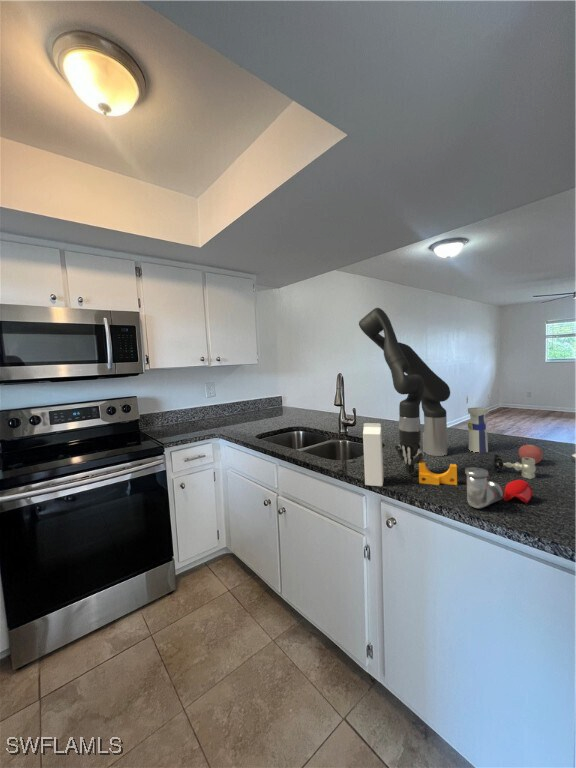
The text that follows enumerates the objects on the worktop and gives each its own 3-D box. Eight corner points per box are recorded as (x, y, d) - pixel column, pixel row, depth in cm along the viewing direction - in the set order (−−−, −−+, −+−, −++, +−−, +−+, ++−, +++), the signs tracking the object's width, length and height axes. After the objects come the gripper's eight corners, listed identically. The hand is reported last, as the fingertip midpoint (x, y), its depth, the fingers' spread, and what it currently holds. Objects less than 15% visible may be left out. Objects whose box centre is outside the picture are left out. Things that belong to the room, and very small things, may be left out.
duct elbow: (481, 514, 88) (480, 476, 87) (461, 506, 93) (460, 470, 92) (503, 503, 93) (503, 467, 92) (483, 496, 98) (483, 462, 97)
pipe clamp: (419, 483, 111) (418, 465, 111) (419, 478, 115) (419, 461, 114) (457, 487, 106) (457, 468, 105) (456, 482, 110) (456, 464, 109)
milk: (367, 479, 118) (364, 421, 116) (383, 480, 115) (381, 421, 114) (365, 485, 112) (362, 424, 110) (382, 486, 110) (380, 425, 108)
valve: (536, 475, 112) (497, 468, 120) (536, 457, 111) (496, 451, 119) (534, 481, 107) (493, 473, 115) (534, 462, 106) (493, 456, 115)
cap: (523, 484, 98) (504, 474, 99) (538, 485, 92) (518, 474, 93) (514, 507, 96) (496, 497, 97) (529, 510, 90) (509, 499, 91)
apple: (515, 459, 128) (515, 440, 127) (537, 460, 125) (537, 441, 125) (522, 466, 121) (522, 445, 120) (545, 467, 118) (546, 446, 118)
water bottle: (474, 454, 138) (473, 398, 136) (464, 448, 146) (463, 395, 144) (493, 453, 137) (492, 396, 136) (481, 447, 146) (481, 394, 144)
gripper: (388, 426, 120) (389, 469, 122) (417, 433, 109) (417, 481, 110) (402, 423, 124) (403, 465, 125) (431, 430, 112) (431, 476, 114)
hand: (410, 472), depth 118 cm, fingers closed
